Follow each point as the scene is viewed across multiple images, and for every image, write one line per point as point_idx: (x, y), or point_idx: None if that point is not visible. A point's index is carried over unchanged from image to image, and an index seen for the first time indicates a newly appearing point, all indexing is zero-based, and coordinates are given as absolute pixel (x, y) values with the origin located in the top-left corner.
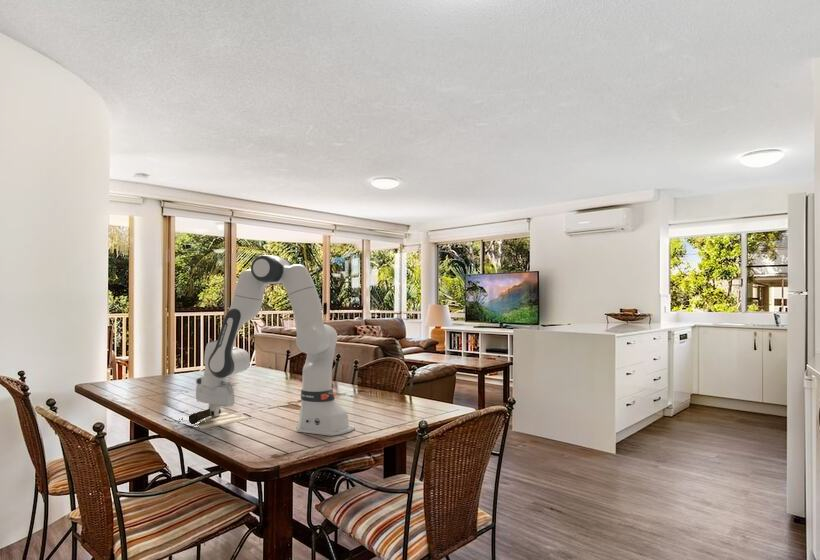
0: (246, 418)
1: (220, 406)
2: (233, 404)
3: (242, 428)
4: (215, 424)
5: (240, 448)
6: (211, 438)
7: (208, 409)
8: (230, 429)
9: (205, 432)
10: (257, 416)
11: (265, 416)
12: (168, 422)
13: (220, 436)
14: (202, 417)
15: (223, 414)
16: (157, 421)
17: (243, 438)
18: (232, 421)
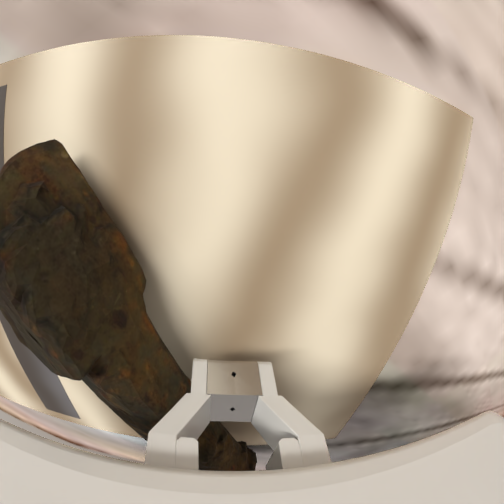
0: (452, 149)
1: (322, 441)
2: (499, 417)
3: (488, 338)
4: (337, 388)
5: (493, 409)
6: (420, 437)
7: (151, 423)
8: (448, 376)
9: (370, 439)
10: (465, 40)
11: (498, 35)
12: (69, 426)
13: (438, 420)
14: (232, 442)
15: (84, 116)
16: (29, 419)
17: (497, 384)
18: (404, 289)
